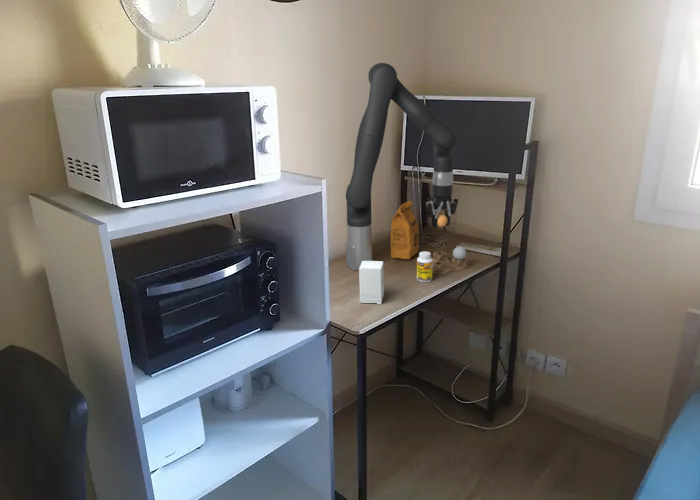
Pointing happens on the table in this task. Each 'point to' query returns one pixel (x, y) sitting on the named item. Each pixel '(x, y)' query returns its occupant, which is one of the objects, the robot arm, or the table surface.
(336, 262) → the table surface
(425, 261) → the supplement bottle
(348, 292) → the table surface
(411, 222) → the coffee package
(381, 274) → the supplement box
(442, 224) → the ball orange
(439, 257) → the stand single
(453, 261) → the rack
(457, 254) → the ball grey
